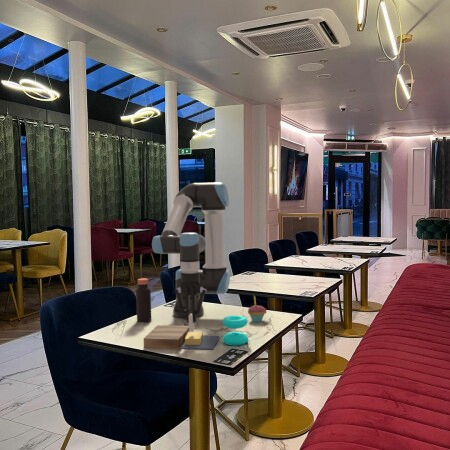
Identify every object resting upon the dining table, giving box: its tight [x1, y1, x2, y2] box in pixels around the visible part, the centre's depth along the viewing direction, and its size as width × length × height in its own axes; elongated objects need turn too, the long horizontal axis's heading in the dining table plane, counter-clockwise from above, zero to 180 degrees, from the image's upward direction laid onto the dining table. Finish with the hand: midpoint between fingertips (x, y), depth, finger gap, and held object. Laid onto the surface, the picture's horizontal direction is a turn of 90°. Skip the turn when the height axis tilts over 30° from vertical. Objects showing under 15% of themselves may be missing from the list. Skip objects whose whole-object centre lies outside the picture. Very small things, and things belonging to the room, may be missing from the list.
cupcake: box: [247, 295, 267, 323], centre depth 214 cm, size 9×8×12 cm
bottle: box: [135, 277, 152, 323], centre depth 217 cm, size 7×7×20 cm
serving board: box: [143, 324, 191, 351], centre depth 186 cm, size 18×14×4 cm
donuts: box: [222, 314, 249, 347], centre depth 183 cm, size 10×10×10 cm
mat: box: [180, 334, 221, 351], centre depth 184 cm, size 16×12×1 cm
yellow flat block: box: [185, 331, 204, 345], centre depth 184 cm, size 9×6×2 cm, turn 176°
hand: (191, 330), depth 184 cm, fingers closed
